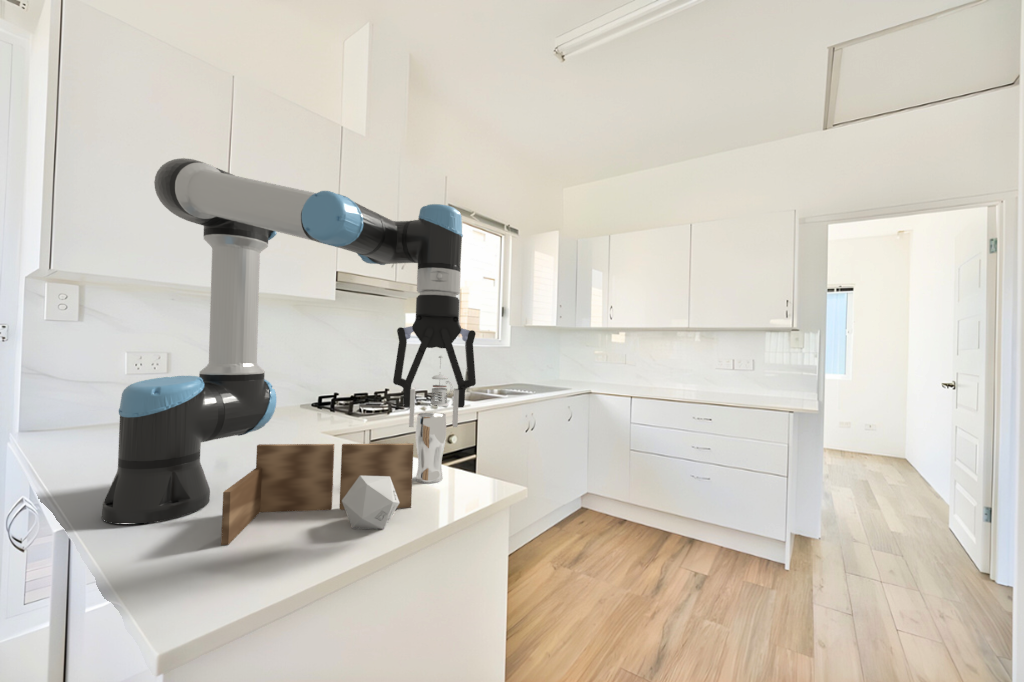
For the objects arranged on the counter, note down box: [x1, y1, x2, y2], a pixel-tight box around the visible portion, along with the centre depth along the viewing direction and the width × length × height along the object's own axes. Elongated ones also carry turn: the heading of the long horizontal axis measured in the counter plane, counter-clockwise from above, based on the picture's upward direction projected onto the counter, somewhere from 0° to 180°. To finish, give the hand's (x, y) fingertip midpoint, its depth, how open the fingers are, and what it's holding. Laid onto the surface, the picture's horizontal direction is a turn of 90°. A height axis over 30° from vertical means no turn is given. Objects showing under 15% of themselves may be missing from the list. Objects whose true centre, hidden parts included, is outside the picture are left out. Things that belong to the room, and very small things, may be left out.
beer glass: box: [415, 411, 447, 484], centre depth 103 cm, size 7×7×15 cm
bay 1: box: [220, 443, 335, 546], centre depth 75 cm, size 13×14×12 cm
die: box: [342, 476, 399, 530], centre depth 76 cm, size 8×9×10 cm
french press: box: [429, 355, 453, 407], centre depth 225 cm, size 10×12×25 cm
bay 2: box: [338, 442, 415, 511], centre depth 84 cm, size 13×1×12 cm, turn 101°
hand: (433, 425), depth 78 cm, fingers open, 7 cm apart
